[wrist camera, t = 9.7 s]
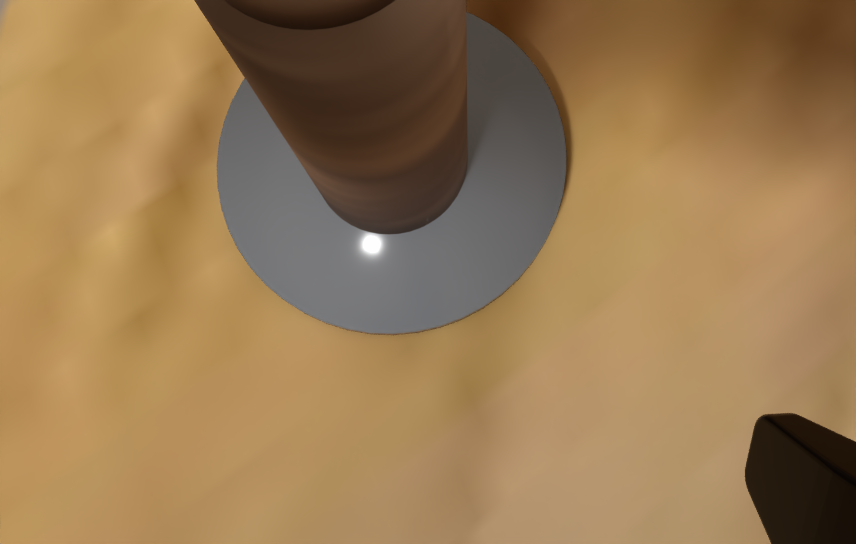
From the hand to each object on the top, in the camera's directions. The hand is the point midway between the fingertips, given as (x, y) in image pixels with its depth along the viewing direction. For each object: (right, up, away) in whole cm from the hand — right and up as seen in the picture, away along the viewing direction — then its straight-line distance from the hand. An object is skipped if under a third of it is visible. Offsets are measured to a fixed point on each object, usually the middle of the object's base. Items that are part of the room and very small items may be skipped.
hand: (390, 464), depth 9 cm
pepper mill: (-1, +5, +13) cm, 14 cm away
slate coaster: (-1, +5, +14) cm, 15 cm away
